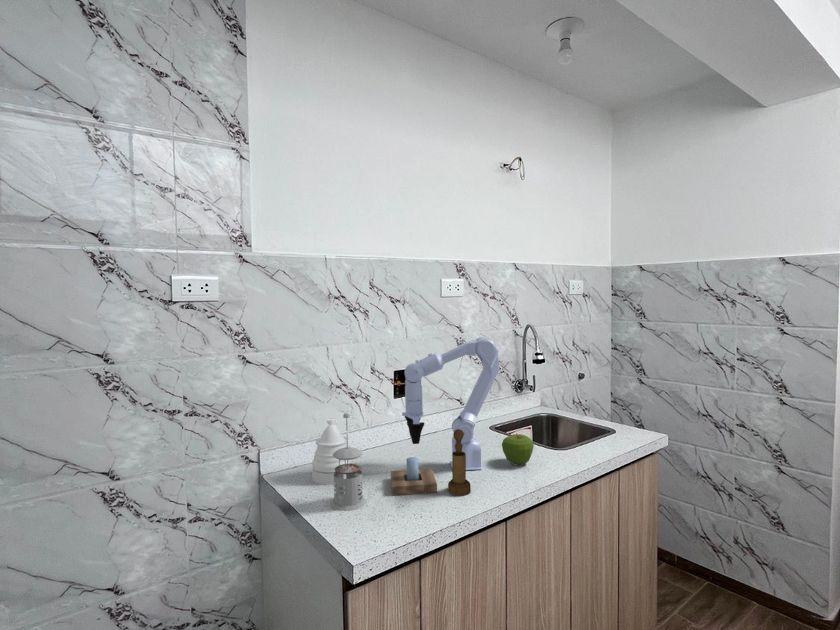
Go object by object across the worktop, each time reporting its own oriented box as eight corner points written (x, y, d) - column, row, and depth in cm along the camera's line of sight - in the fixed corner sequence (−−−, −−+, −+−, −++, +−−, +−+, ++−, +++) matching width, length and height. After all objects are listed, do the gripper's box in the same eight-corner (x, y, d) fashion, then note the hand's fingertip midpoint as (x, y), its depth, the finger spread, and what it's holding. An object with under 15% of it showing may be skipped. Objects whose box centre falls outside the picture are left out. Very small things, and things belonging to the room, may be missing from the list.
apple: (520, 456, 154) (520, 428, 154) (540, 465, 145) (540, 436, 145) (495, 461, 150) (495, 432, 149) (515, 471, 140) (514, 441, 140)
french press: (334, 513, 114) (332, 419, 113) (326, 496, 124) (324, 410, 124) (370, 506, 117) (368, 414, 117) (359, 490, 128) (357, 406, 128)
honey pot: (310, 472, 143) (309, 418, 143) (349, 466, 147) (347, 414, 147) (314, 487, 131) (313, 428, 131) (356, 480, 135) (355, 423, 135)
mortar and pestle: (464, 498, 122) (463, 434, 121) (444, 493, 125) (443, 431, 125) (474, 489, 127) (473, 428, 127) (454, 484, 131) (453, 425, 130)
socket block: (431, 476, 137) (431, 468, 137) (437, 492, 125) (436, 484, 125) (390, 479, 136) (390, 471, 136) (392, 495, 124) (392, 486, 124)
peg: (418, 482, 133) (417, 456, 132) (419, 487, 129) (418, 461, 129) (406, 483, 132) (406, 457, 132) (407, 488, 129) (406, 461, 129)
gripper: (400, 395, 151) (401, 434, 152) (403, 404, 137) (404, 447, 137) (420, 394, 152) (421, 433, 152) (425, 403, 138) (426, 446, 138)
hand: (414, 440), depth 145 cm, fingers open, 7 cm apart
